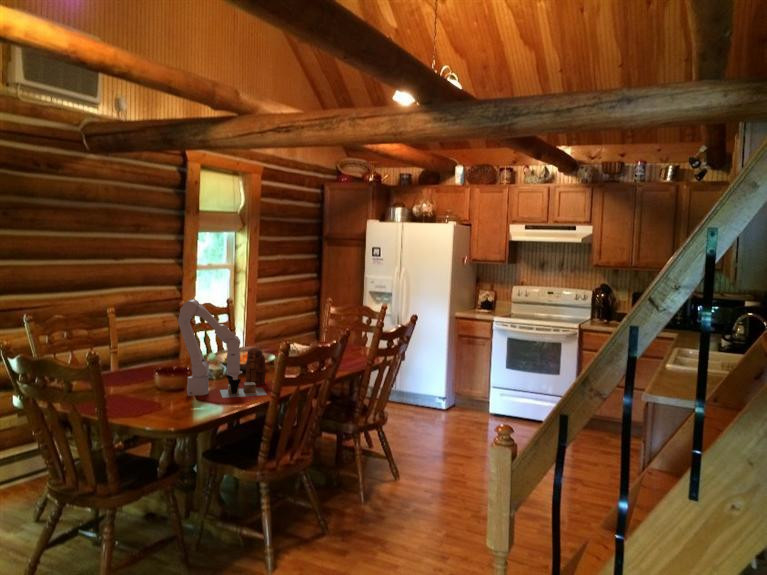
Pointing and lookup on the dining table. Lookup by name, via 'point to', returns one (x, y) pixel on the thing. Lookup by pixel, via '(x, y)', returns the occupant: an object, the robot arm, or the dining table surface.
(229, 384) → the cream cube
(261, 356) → the wooden figurine
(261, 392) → the mat
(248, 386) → the walnut base block
